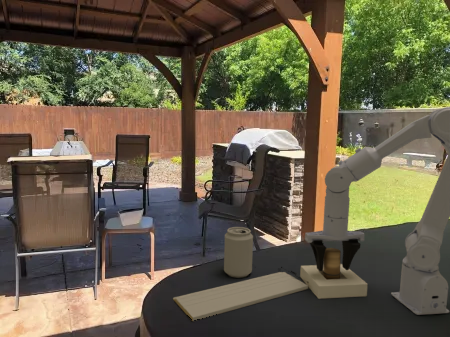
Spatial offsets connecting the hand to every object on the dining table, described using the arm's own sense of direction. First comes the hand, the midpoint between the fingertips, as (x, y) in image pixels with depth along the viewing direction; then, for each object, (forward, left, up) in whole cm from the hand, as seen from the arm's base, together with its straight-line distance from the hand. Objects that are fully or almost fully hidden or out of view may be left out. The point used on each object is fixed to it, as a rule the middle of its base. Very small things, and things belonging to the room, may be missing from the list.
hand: (332, 269), depth 90 cm
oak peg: (0, 0, -4) cm, 4 cm away
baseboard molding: (-1, +23, -5) cm, 24 cm away
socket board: (0, 0, -4) cm, 4 cm away
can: (+10, +22, -5) cm, 25 cm away
